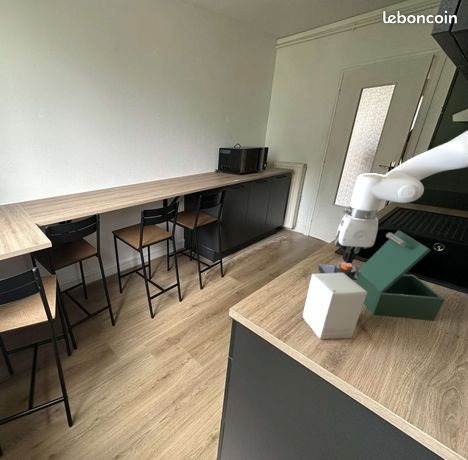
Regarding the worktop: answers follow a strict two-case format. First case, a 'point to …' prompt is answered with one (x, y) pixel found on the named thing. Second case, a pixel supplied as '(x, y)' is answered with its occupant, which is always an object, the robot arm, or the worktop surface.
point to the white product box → (333, 305)
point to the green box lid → (393, 260)
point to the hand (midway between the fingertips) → (347, 261)
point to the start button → (346, 266)
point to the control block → (338, 270)
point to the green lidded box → (402, 299)
